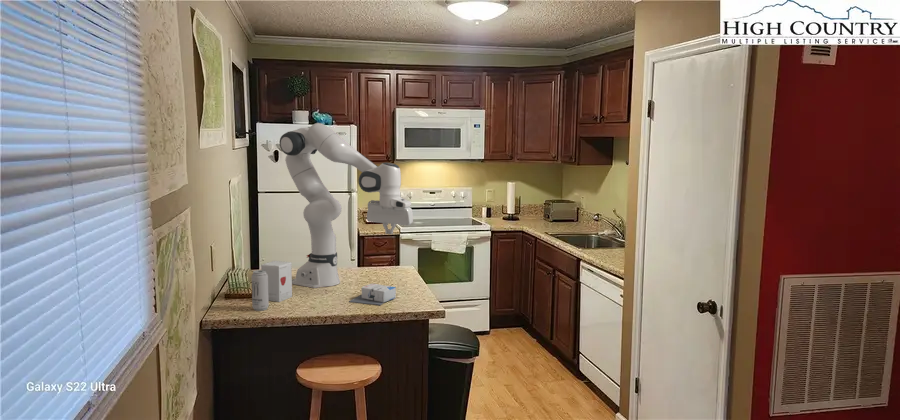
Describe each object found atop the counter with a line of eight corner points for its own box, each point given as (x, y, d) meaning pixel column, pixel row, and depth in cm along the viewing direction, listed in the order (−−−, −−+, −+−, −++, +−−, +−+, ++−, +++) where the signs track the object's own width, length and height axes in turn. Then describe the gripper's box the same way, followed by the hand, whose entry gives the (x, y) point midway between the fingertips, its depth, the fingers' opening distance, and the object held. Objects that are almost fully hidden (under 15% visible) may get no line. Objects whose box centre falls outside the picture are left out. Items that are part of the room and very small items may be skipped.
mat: (349, 302, 235) (348, 301, 235) (363, 294, 247) (363, 293, 247) (380, 305, 230) (380, 304, 230) (393, 297, 242) (393, 296, 242)
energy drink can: (249, 310, 223) (247, 272, 221) (260, 306, 228) (258, 269, 226) (261, 312, 220) (260, 273, 218) (272, 307, 226) (271, 270, 224)
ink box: (396, 298, 240) (373, 294, 246) (396, 286, 239) (373, 282, 245) (383, 302, 232) (361, 299, 238) (383, 290, 232) (360, 287, 238)
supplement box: (279, 302, 233) (278, 266, 232) (261, 300, 236) (260, 264, 235) (293, 296, 242) (292, 261, 240) (275, 294, 245) (274, 260, 243)
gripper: (364, 200, 242) (363, 232, 244) (408, 204, 236) (407, 237, 237) (371, 199, 248) (370, 230, 250) (414, 202, 241) (413, 234, 243)
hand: (389, 233), depth 244 cm, fingers closed
